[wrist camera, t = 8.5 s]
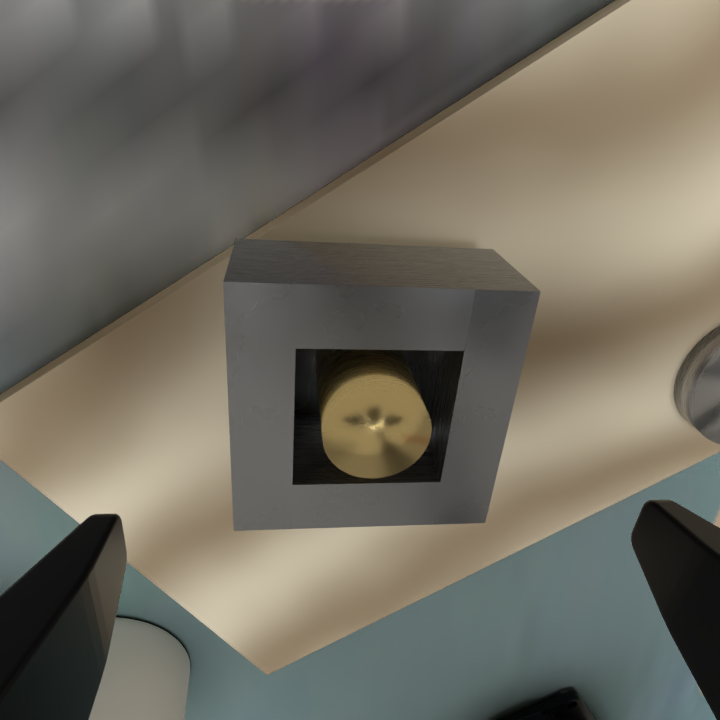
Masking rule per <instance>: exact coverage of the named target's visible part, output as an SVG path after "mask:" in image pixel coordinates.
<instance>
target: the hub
mask: <svg viewBox="0 0 720 720" xmlns="http://www.w3.org/2000/svg"><path fill="white" fill-rule="evenodd" d="M424 351H425V350H362V349H296V355H295V397H294V414H320V421H321V431H322V441H323V447H324V450H325V452H326V454H327V456H328V458H329V459H330V461H331V462H332V463H333V464H334V465H335V466H336V467H338V468H339V469H340V470H342V471H344V472H345V473H348V474H350V475H353V476H356V477H361V478H382V477H387V476H391V475H394V474H397V473H399V472H401V471H403V470H405V469H407V468H408V467H410V466H411V465H412V464H414V463H415V462H416V461H417V460H418V459H419V458H420V457H421V455H422V454H423V453H424V451H425V450H426V448H427V446H428V444H429V441H430V438H431V432H432V425H431V419H430V416H429V414H428V411H427V409H426V406H425V404H424V401H423V399H422V397H421V394H420V392H419V385H420V379H421V372H422V365H423V358H424Z"/></svg>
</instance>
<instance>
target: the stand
mask: <svg viewBox="0 0 720 720" xmlns="http://www.w3.org/2000/svg"><path fill="white" fill-rule="evenodd" d="M674 401H675V405H676V408H677V410H678V412H679V413H680V415H681V416H682V417H683V418H684V419H685V420H686V421H687V422H689V423H690V424H691V425H692V426H693V427H694V428H695V429H696V430H698V431H699V432H700V433H701V434H702V435H703V436H704V437H705V438H707V439H709V440H710V441H712V442H714V443H717V444H720V326H718V327H716V328H715V329H713V330H712V331H711V332H709V333H708V334H707V335H706V336H704V337H703V338H702V339H701V340H700V341H699V342H698V343H697V344H696V345H695V346H694V347H693V349H692V350H691V351H690V352H689V354H688V355H687V356H686V358H685V360H684V361H683V363H682V365H681V367H680V369H679V371H678V374H677V376H676V380H675V384H674Z"/></svg>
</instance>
